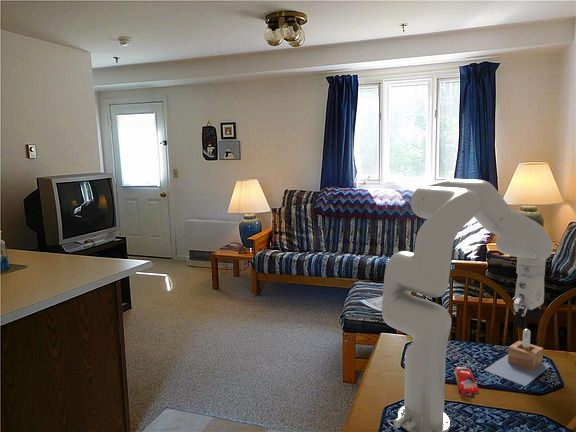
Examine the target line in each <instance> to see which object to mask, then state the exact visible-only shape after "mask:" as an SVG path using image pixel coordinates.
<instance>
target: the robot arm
mask: <svg viewBox="0 0 576 432" xmlns="http://www.w3.org/2000/svg"><path fill="white" fill-rule="evenodd" d="M410 207H411V210H412V212H413V213H414V215H416V216H417V217H419V218H421V219H425V221H424V222H423V223H422V225H420V228H419V230H418V231H417V234H416V239H415V244H414V246H415V247H414V250H413V252H411V251H407V250H401V251H397V252H395V253H394V254H393V255H392V256H391V257H389V260H388V262H387V263H386V265H385V271H384V275H383V276H384V278H383V291H382V300H381V315H382V318H383V321H384V322H385V324H386V325H387V326H389V327H391V328H393V329H395V330H398V331H400V332H402V333H404V334H406V335H408V336H411V337H412V342H411V343H410V345H408V346H407V348H406V350H405V354H404V397H403V398H404V401H403V402H404V405H403V406H402V407H401V408H400V409H399V410H398V412H397V418H395V419H394V420H393V425H394V427H395V428H396V429H399V428H401V427H402V428H403V429H404V430H406V431H407V432H449V431H450V428H451V419H450V417H449V416H448V415H447V414H446V413H445V392H446V391H445V390H446V389H445V385H446V384H445V383H446V359H447V356H446V355H447V346H448V340H449V336H450V332H451V327H452V318H451V315H450V313H449V311H448V310H447V308H445V307H443V306H442V305H441V304H438V303H436V302H434V301H430V300H427V299H424V298H423V297H422V298H421V297H418V296H415V295H412V292H413V293H416V294H419V295H422V296H425V297H429V298H439V297H442V296H443V295H444V294H445V293H446V292H447V290H448V287H449V281H450V275H451V263H452V254H453V248H454V241H455V239H456V237H457V235H458V234H459V232H460V231H461V230H462V229H463V228H464V226H465V225H467V224H468V223H469V222H470V221H471V220H472V219H473V218H475V219H476V220H477V222H478V223H479V224H480V225H481V226H482V227H483V228H484V230H486V231H487V232H489V233H491V234H493V235H496V236H497V237H496V241H495V246H496V248H497V250H498V252H500V253H501V254H503V255H506V256H509V257H516V272H515V273H516V274H517V279H516V284H515V292H514V302H513V314H514V316H513V326H514V328H518V329H521V330H524V329H526V324H527V319H528V320H531V321H535V322H539V321H540V317H541V307H542V305H543V304H544V302H545V276H546V262H547V261H546V260H547V259H549V258H550V257H551V255H552V253H553V250H554V247H553V246H554V245H553V240H552V237H550V235H549V233H548V232H547V230H546V229H545V228H544V227H543V226H542V224H540V223H538V222H537V221H535V220H534V219H532V218H530V217H527V216H526V215H524V214H522V212H521V213H520V212H518V211H516V210H515V209H512V208H511V207H510V205H509V204H508V203H507V202H506V200H505V199H504V197H503V196H502V195H501V194H500V193H499V191H498V190H497V189H496V187H495V186H494V185H493V184H492V183H491V182H489V181H486V180H483V179H467V178H466V179H465V178H464V179H463V178H450V179H446V180H445V179H444V180H442V181H437V182H434V183H429V184H424V185H421V186H419V187H418V188H417V189H415V191H414V192H413V194H412V196H411V198H410ZM527 310H528V311H527ZM526 313H528V314H527V316H526Z"/></svg>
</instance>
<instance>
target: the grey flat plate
mask: <svg viewBox="0 0 576 432" xmlns="http://www.w3.org/2000/svg"><path fill="white" fill-rule="evenodd" d="M551 366H552V365H551V364H549V363H545V362H543V361H542V364H540V365H539V366H538V367H536V368H535V369H534V370H529V369H526V368H523V367H521V366H518V365H515V364H512V363H509V362H508V354H506V355H504V356H502V357H501V358H500V359H498V360H497V361H495V362H494V363H492V364H490V365H489V366H488V367H485V369H484V371H485V372H487V373H491V374H493V375H496V376H498V377H501V378H504V379H506V380H508V381H509V382H513V383H515V384H517V385H518V384H519V385H520V386H523V387H526V386H527V385H529V384H530V383H531V382H533V381H534V380H535V379H536V378H538V377H539V376H540V375H541V374H543V373H544V372H545V371H547V370H548V369H549V368H550V367H551Z"/></svg>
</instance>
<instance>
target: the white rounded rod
mask: <svg viewBox="0 0 576 432" xmlns="http://www.w3.org/2000/svg"><path fill="white" fill-rule="evenodd" d="M531 332H532V331H531V330H530V329H528V328H525V329H523V331H522V341H523V343H522V349H523V350H526V351H529V350H530V344H531Z"/></svg>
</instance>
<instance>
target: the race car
mask: <svg viewBox="0 0 576 432" xmlns="http://www.w3.org/2000/svg"><path fill="white" fill-rule="evenodd" d="M453 374H454V378H455V381H456V384H457V387H458V389H457V391H458V394H459V395H461V396H463V397H468V398H475V396H474V395H477V394H479V393H480V390H479V387H478V384H477V382H478V380H477V379H475V378H474V375H473V373H472V371H471V369H470V368H468V367H466V366H456V367H455V368H454V369H453Z"/></svg>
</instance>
